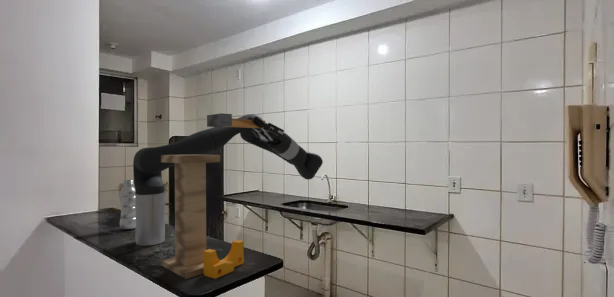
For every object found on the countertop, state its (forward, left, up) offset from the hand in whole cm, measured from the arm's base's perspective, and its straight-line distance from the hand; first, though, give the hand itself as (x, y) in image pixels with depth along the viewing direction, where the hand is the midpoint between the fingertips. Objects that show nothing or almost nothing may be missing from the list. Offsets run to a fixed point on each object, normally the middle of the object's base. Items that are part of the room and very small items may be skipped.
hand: (251, 119), depth 107 cm
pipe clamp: (+10, -16, -43) cm, 47 cm away
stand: (+1, -22, -42) cm, 48 cm away
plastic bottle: (-58, -17, -43) cm, 74 cm away
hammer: (0, -4, -3) cm, 5 cm away
